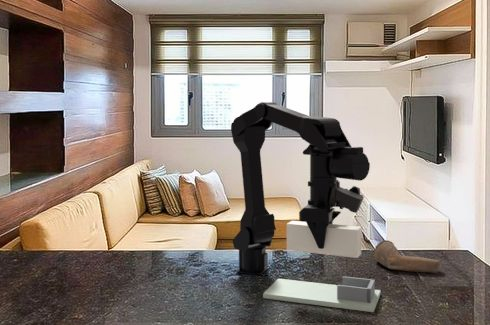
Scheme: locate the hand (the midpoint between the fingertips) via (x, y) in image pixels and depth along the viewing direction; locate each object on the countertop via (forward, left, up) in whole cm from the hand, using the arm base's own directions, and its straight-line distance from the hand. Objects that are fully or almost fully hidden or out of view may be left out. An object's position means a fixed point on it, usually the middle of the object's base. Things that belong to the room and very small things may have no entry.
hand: (323, 246), depth 118 cm
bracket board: (0, 0, -11) cm, 11 cm away
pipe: (+16, +28, -12) cm, 34 cm away
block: (0, 0, -1) cm, 1 cm away
